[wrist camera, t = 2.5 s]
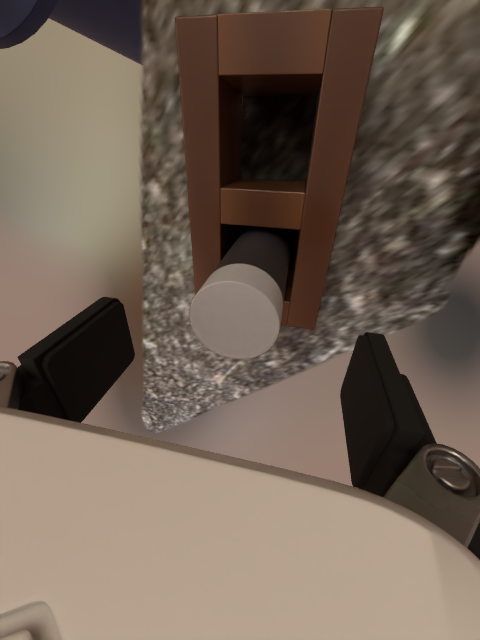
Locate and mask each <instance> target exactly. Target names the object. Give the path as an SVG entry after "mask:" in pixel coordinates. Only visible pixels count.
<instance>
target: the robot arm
mask: <svg viewBox="0 0 480 640" xmlns="http://www.w3.org/2000/svg"><path fill="white" fill-rule="evenodd" d="M134 356H135V353H134V348H133V344H132V340H131V336H130V331H129V327H128V323H127V318H126V314H125V310H124V306H123V304H122V303H121V302H120V301H119V300H118V299H116V298H109V297H102V298H100V299H99V300H97V301H96V302H95V303H93V304H92V305H90V306H89V307H88V308H86V309H85V310H83V311H82V312H80V313H79V314H78V315H76V316H75V317H73V318H72V319H71V320H69V321H68V322H66V323H65V324H63V325H62V326H61V327H59V328H58V329H56V330H55V331H54V332H52V333H51V334H49V335H48V336H47V337H45V338H44V339H42V340H41V341H39V342H38V343H37V344H35V345H34V346H32V347H31V348H30V349H28V350H27V351H25V352H24V353H22V354H21V355H20V356H18V359H19V361H20V363H21V365H20V366H19V367H18V368H17V367H16V365H15V364H14V363H12V362H8V361H0V640H480V469H479V467H478V466H477V465H476V464H475V463H474V462H473V461H472V460H470V459H469V458H468V457H467V456H465V455H464V454H462V453H461V452H459V451H457V450H455V449H453V448H451V447H448V446H445V445H443V444H437V443H436V441H435V439H434V437H433V434H432V432H431V430H430V428H429V425H428V423H427V421H426V418H425V416H424V414H423V411H422V409H421V407H420V405H419V402H418V400H417V398H416V396H415V394H414V391H413V389H412V387H411V384H410V382H409V380H408V378H407V377H406V376H405V375H403V374H400V372H399V370H398V368H397V366H396V363H395V360H394V358H393V355H392V353H391V351H390V348H389V346H388V343H387V341H386V339H385V336H384V335H383V334H376V333H369V332H366V333H365V334H364V336H361V335H359V336H358V338H357V341H356V344H355V347H354V351H353V354H352V357H351V360H350V363H349V366H348V369H347V372H346V375H345V378H344V381H343V384H342V388H341V395H340V397H341V405H342V413H343V420H344V427H345V435H346V443H347V450H348V458H349V465H350V473H351V481H352V485H353V487H352V486H348V485H344V484H341V483H338V482H334V481H331V480H326V479H323V478H318V477H315V476H310V475H306V474H302V473H298V472H294V471H290V470H286V469H282V468H278V467H274V466H269V465H265V464H261V463H256V462H252V461H247V460H243V459H239V458H235V457H230V456H226V455H221V454H217V453H213V452H209V451H204V450H200V449H195V448H191V447H186V446H182V445H177V444H173V443H169V442H164V441H160V440H155V439H151V438H146V437H142V436H137V435H133V434H128V433H124V432H119V431H115V430H111V429H106V428H101V427H96V426H92V425H88V424H83V423H81V422H82V421H83V420H84V419H85V417H86V416H87V415H88V414H89V413H90V412H91V410H92V409H93V408H94V407H95V406H96V404H97V403H98V402H99V401H100V400H101V398H102V397H103V396H104V395H105V393H106V392H107V391H108V390H109V389H110V388H111V386H112V385H113V384H114V383H115V382H116V380H117V379H118V378H119V377H120V376H121V374H122V373H123V372H124V371H125V370H126V368H127V367H128V366H129V365H130V364H131V362H132V361H133V359H134ZM355 487H356V488H355Z"/></svg>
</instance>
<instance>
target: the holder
mask: <svg viewBox="0 0 480 640" xmlns="http://www.w3.org/2000/svg"><path fill="white" fill-rule="evenodd" d="M383 11H384V8H383V7H364V8H343V9H334V10H333V11H332V9H314V10H293V11H272V12H252V13H231V14H218V16H217V15H199V16H178V17H175V25H176V38H177V52H178V65H179V79H180V92H181V106H182V120H183V133H184V147H185V160H186V174H187V187H188V201H189V215H190V228H191V242H192V255H193V269H194V282H195V296H196V294H197V293H198V291H199V290H200V289H201V287H202V286H203V285H204V283H205V282H206V281H207V279H208V278H209V277H210V275H211V274H212V273H213V271H214V270H215V268H216V267H217V266H218V264H219V263H220V262H221V260H222V259H223V258H224V256H225V255H226V254H227V252H228V251H229V250H230V248H231V247H232V246H233V244H234V243H235V242H236V240H237V239H238V237H239V225H243V226H256V227H269V228H282V229H295V230H299V232H298V239H297V246H296V253H295V260H294V267H293V270H292V269H288V274H287V281H286V289H285V296H284V303H283V310H282V317H281V324H280V325H282V326H286V325H287V326H291V327H298V328H306V329H313V330H314V329H315V326H316V321H317V317H318V312H319V307H320V303H321V298H322V293H323V289H324V284H325V280H326V275H327V270H328V266H329V261H330V256H331V252H332V247H333V242H334V238H335V233H336V229H337V224H338V219H339V215H340V210H341V205H342V201H343V196H344V191H345V187H346V182H347V178H348V173H349V168H350V164H351V159H352V154H353V150H354V145H355V140H356V136H357V131H358V127H359V122H360V117H361V113H362V108H363V103H364V99H365V94H366V89H367V85H368V80H369V76H370V71H371V66H372V62H373V57H374V52H375V48H376V43H377V38H378V34H379V29H380V25H381V20H382V15H383ZM317 95H318V97H317V104H316V111H315V118H314V125H313V132H312V139H311V147H310V154H309V161H308V168H307V175H306V182H305V181H290V180H270V179H249V178H241V139H242V96H317Z"/></svg>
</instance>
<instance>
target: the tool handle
mask: <svg viewBox="0 0 480 640" xmlns="http://www.w3.org/2000/svg"><path fill="white" fill-rule="evenodd" d="M291 246H292V232H291V229H282V228H269V227H256V226H247V227H246V228H245V229H244V231H243V232H242V233H241V235H240V236H239V237H238V239H237V240H236V242H235V243H234V244H233V246H232V247H231V248H230V250H229V251H228V252H227V254H226V255H225V256H224V258H223V259H222V260H221V262H220V263H219V264H218V266H217V267H216V268H215V270H214V271H213V273H212V274H211V275H210V277H209V278H208V279H207V281H206V282H205V283H204V285H203V286H202V287H201V289H200V290H199V291H198V293H197V294H196V296H195V297H194V298H193V301H192V303H191V306H190V312H189V317H190V323H191V327H192V329H193V331H194V333H195V335H196V336H197V338H198V339H199V340H200V341H201V343H202V344H203V345H205V346H206V347H207V348H208V349H210V350H211V351H213V352H215V353H217V354H219V355H221V356H224V357H227V358H232V359H250V358H254V357H257V356H259V355H261V354H263V353H265V352H266V351H268V350H269V349H270V348H271V347H272V346H273V344H274V343H275V342H276V340H277V338H278V335H279V331H280V324H281V317H282V310H283V303H284V296H285V289H286V281H287V274H288V267H289V260H290V253H291Z"/></svg>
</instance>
